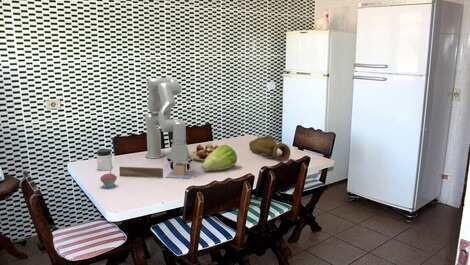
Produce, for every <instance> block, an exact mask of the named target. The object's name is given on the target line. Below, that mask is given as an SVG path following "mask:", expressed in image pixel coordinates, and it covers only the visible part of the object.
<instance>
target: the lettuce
mask: <svg viewBox="0 0 470 265" xmlns="http://www.w3.org/2000/svg"><path fill="white" fill-rule="evenodd" d="M237 161H238V155H237V153H236V151H235V149H234V148H232V147H231V146H229V145H226V144H223V145H220V147H218V148H217V149H215V150H214V151H213V152H212V153H211V154H210V155H209V156H207V158H206V159H205V161H204V162H202V165H201V168H202V170H204V171H224V170H229V169H230V168H232V167H233V166H235V165H236V164H237Z"/></svg>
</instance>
